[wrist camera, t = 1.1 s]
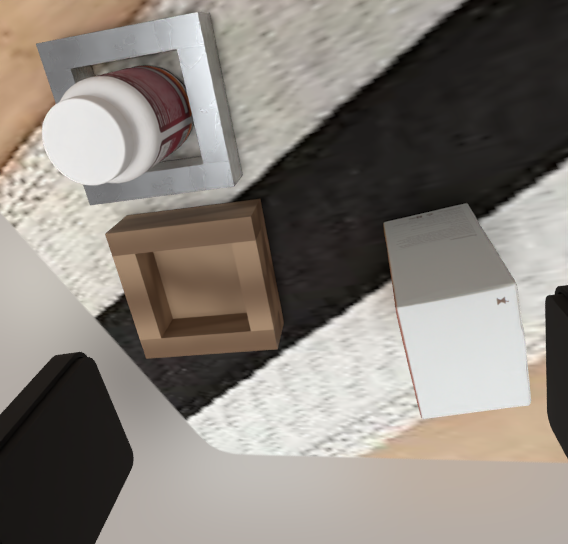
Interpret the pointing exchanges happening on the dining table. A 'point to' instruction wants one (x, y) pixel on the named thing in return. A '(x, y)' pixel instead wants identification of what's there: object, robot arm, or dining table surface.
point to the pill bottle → (117, 125)
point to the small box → (456, 314)
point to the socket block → (200, 89)
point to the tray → (199, 279)
